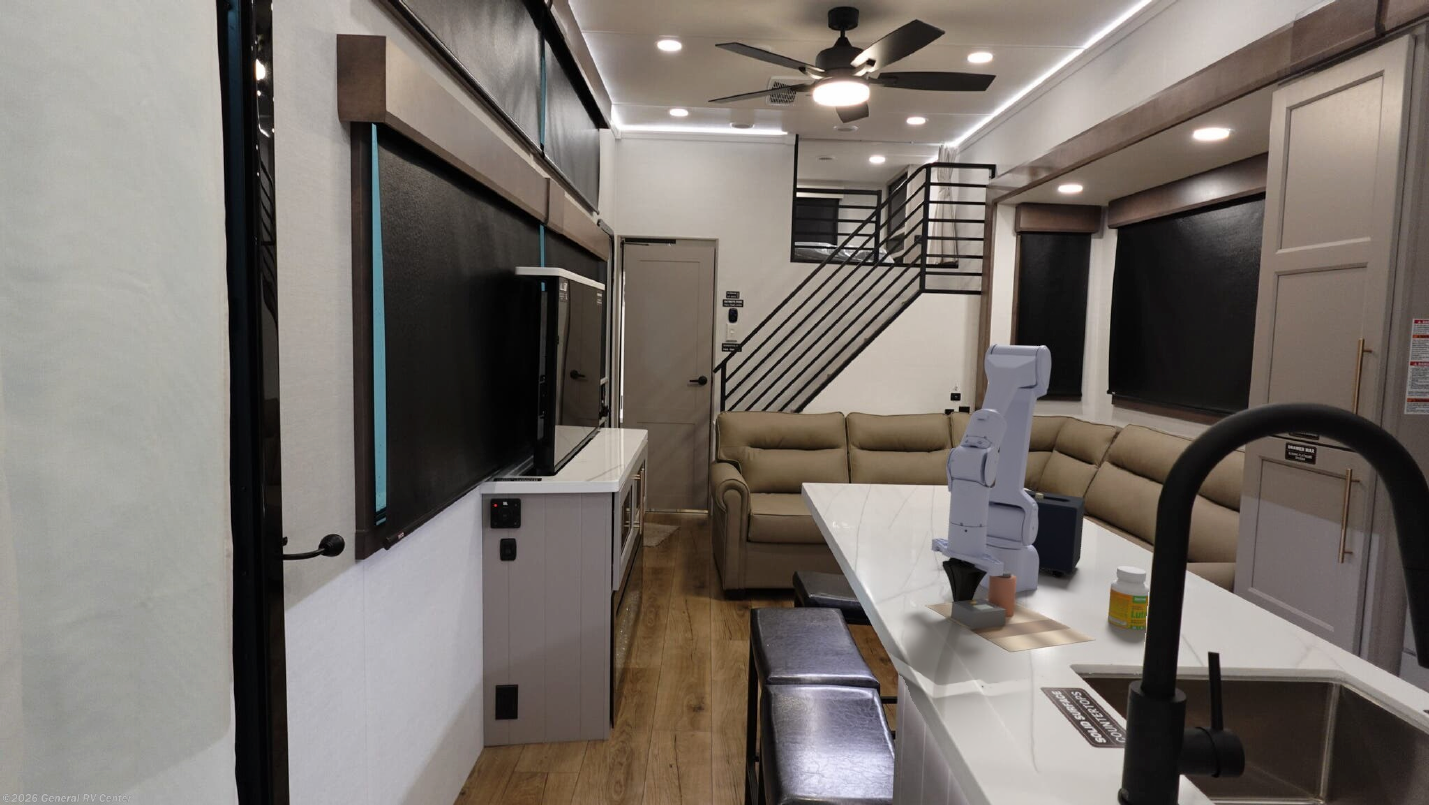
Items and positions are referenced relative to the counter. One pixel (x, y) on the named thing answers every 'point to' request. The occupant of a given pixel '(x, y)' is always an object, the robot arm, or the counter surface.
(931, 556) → the counter surface
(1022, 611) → the board
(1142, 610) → the supplement bottle
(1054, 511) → the speaker
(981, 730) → the counter surface
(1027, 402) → the robot arm
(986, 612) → the block
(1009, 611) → the peg
